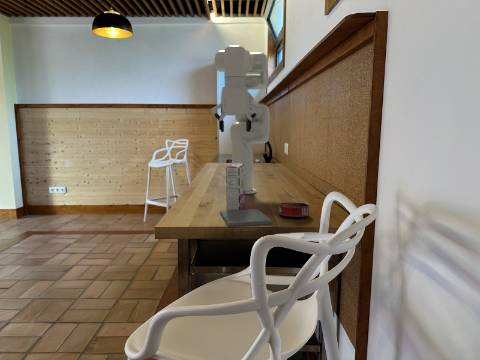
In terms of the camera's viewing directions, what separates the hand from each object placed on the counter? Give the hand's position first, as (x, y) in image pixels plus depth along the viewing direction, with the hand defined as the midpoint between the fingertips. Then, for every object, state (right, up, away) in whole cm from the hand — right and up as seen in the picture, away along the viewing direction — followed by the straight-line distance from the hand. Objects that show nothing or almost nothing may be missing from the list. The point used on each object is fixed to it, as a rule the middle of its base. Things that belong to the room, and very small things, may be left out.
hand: (235, 131), depth 121 cm
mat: (+3, -30, -16) cm, 34 cm away
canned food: (+18, -30, -14) cm, 38 cm away
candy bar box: (0, -29, -3) cm, 29 cm away
